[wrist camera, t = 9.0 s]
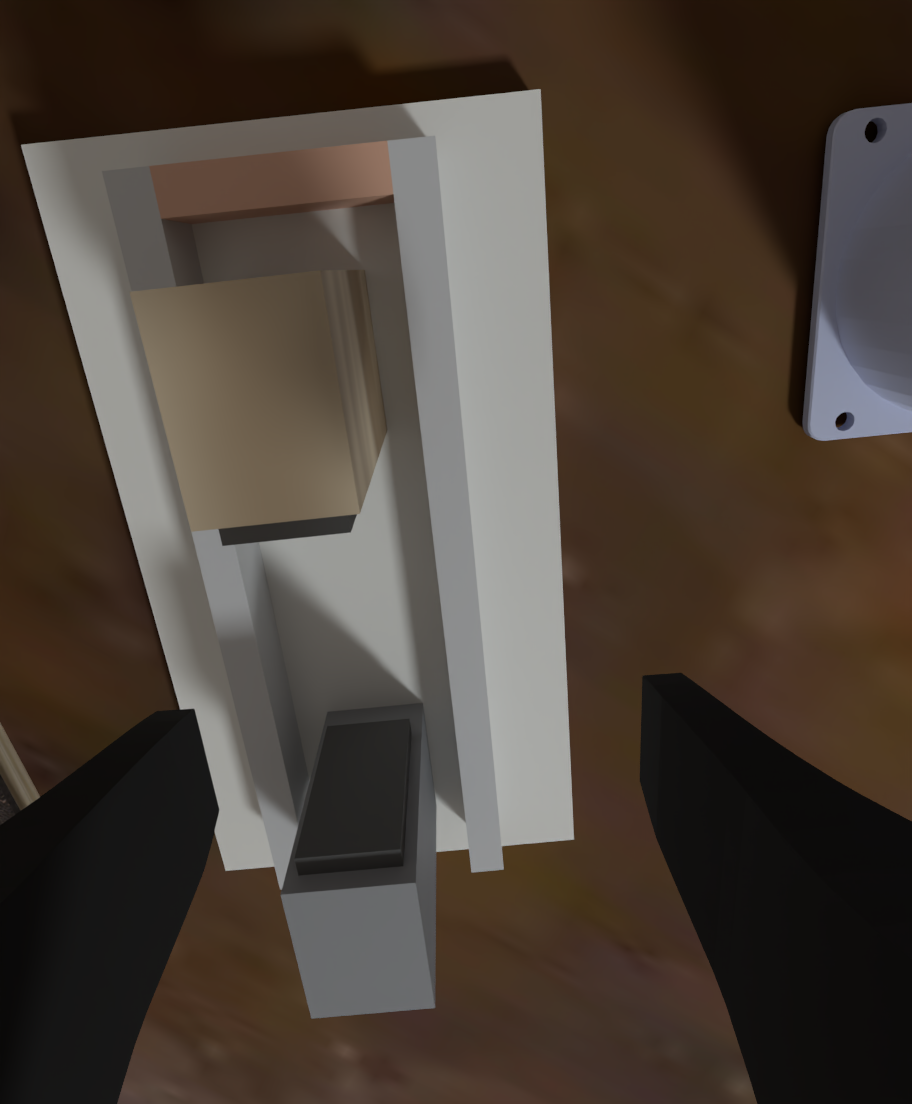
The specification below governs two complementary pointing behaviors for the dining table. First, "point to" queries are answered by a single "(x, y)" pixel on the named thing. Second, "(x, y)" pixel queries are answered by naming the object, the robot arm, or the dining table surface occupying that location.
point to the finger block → (267, 400)
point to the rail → (379, 530)
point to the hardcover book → (13, 781)
